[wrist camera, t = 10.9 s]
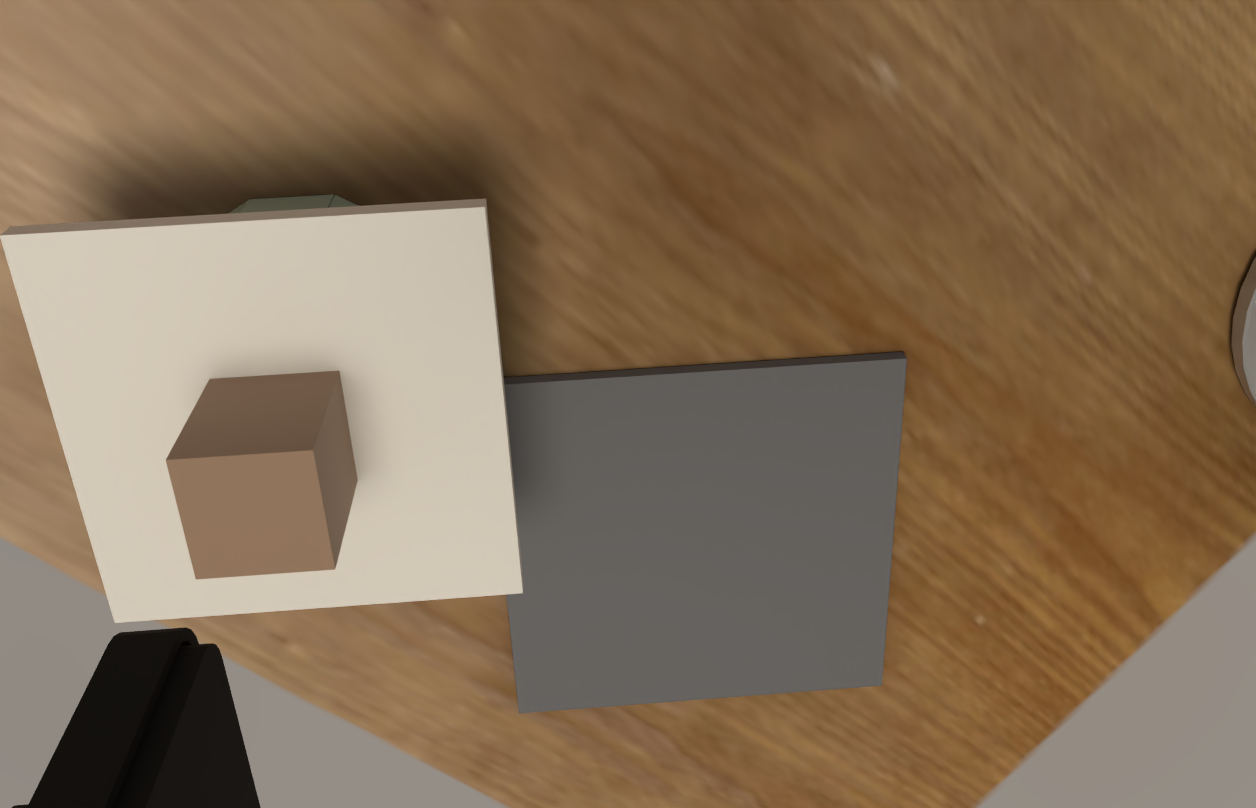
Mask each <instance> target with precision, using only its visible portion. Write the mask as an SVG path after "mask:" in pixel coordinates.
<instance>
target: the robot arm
mask: <svg viewBox="0 0 1256 808" xmlns="http://www.w3.org/2000/svg"><path fill="white" fill-rule="evenodd" d="M1231 346H1232V352H1233V358H1234V364H1235V371H1236V373H1237V375H1238V378H1239V380H1240V382H1241V385H1242V387H1243V389H1244V392H1245V394H1246V395H1247V396H1248V398H1249V399H1250V400H1251V401H1252V403H1253V404H1254V405H1255V407H1256V257H1255V259H1254V261H1253V263H1252V265H1251V267H1250V269H1249V272H1248V274H1247V276H1246V278H1245V280H1244V282H1243V285H1242V287H1241V289H1240V293H1239V297H1238V301H1237V305H1236V308H1235V312H1234V316H1233V327H1232V344H1231ZM12 808H260V804H259V800H258V796H257V792H256V789H255V785H254V781H253V777H252V773H251V769H250V765H249V761H248V757H247V753H246V749H245V745H244V741H243V737H242V734H241V730H240V726H239V722H238V718H237V714H236V710H235V706H234V702H233V698H232V694H231V690H230V686H229V682H228V679H227V675H226V671H225V667H224V663H223V659H222V656H221V653H220V650H219V648H218V647H217V645H215V644H212V643H211V644H199V643H198V640H197V638H196V636H195V634H194V633H193V631H192V630H191V629H188V628H174V629H161V630H149V631H134V632H121V633H119V634H117V635H115V636H114V637H113V639H112V640H111V641H110V643H109V644H108V646H107V648H106V650H105V652H104V654H103V656H102V658H101V660H100V662H99V664H98V666H97V668H96V670H95V672H94V674H93V676H92V678H91V680H90V682H89V684H88V686H87V688H86V690H85V692H84V694H83V696H82V698H81V700H80V702H79V704H78V706H77V708H76V710H75V712H74V714H73V716H72V718H71V720H70V722H69V724H68V726H67V728H66V730H65V732H64V735H63V736H62V738H61V740H60V742H59V744H58V746H57V748H56V750H55V752H54V754H53V756H52V758H51V760H50V763H49V764H48V767H47V768H46V771H45V773H44V774H43V777H42V779H41V781H40V783H39V785H38V787H37V789H36V791H35V793H34V795H33V797H32V799H31V801H30V803H29V805H18V806H13V807H12Z"/></svg>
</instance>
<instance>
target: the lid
mask: <svg viewBox="0 0 1256 808" xmlns="http://www.w3.org/2000/svg"><path fill="white" fill-rule="evenodd" d="M0 238H1V241H2V245H3V248H4V251H5V255H6V258H7V262H8V265H9V268H10V272H11V275H12V278H13V282H14V285H15V288H16V292H17V295H18V299H19V302H20V305H21V309H22V312H23V315H24V319H25V322H26V326H27V329H28V332H29V336H30V339H31V342H32V346H33V349H34V352H35V356H36V359H37V363H38V366H39V369H40V373H41V376H42V379H43V383H44V386H45V389H46V393H47V396H48V400H49V403H50V406H51V410H52V413H53V416H54V420H55V423H56V427H57V430H58V433H59V437H60V440H61V443H62V447H63V450H64V453H65V457H66V460H67V464H68V467H69V470H70V474H71V477H72V480H73V484H74V487H75V490H76V494H77V497H78V501H79V504H80V507H81V511H82V514H83V517H84V521H85V524H86V528H87V531H88V534H89V538H90V541H91V544H92V548H93V551H94V554H95V558H96V561H97V565H98V568H99V571H100V575H101V578H102V581H103V585H104V588H105V592H106V595H107V598H108V602H109V605H110V608H111V612H112V615H113V618H114V622H115V623H120V622H132V621H133V622H134V621H145V620H161V619H175V618H189V617H202V616H216V615H230V614H244V613H257V612H271V611H285V610H299V609H313V608H326V607H340V606H354V605H368V604H381V603H395V602H409V601H423V600H436V599H450V598H464V597H478V596H491V595H505V594H519V593H523V573H522V563H521V553H520V543H519V532H518V522H517V512H516V502H515V491H514V481H513V471H512V460H511V450H510V440H509V430H508V419H507V409H506V399H505V389H504V378H503V368H502V358H501V347H500V337H499V327H498V317H497V306H496V296H495V286H494V276H493V265H492V255H491V245H490V235H489V224H488V214H487V204H486V199H469V200H452V201H435V202H418V203H401V204H384V205H367V206H350V207H333V208H316V209H299V210H281V211H264V212H247V213H230V214H213V215H196V216H179V217H162V218H145V219H128V220H111V221H94V222H77V223H60V224H43V225H26V226H10V227H9V228H8V229H7V230H6V231H5V232H3V233H2V234H1V235H0Z"/></svg>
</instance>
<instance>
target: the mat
mask: <svg viewBox="0 0 1256 808" xmlns="http://www.w3.org/2000/svg"><path fill="white" fill-rule="evenodd" d="M906 364H907V358H906V356H905V355H904V353H903V352H893V353H877V354H862V355H846V356H831V357H815V358H800V359H785V360H769V361H754V362H738V363H723V364H707V365H692V366H676V367H661V368H646V369H630V370H615V371H599V372H584V373H568V374H553V375H538V376H522V377H507V378H504V389H505V399H506V409H507V419H508V430H509V440H510V450H511V460H512V471H513V481H514V491H515V502H516V512H517V522H518V532H519V543H520V553H521V563H522V573H523V593H519V594H507V604H508V613H509V622H510V632H511V641H512V651H513V660H514V670H515V679H516V689H517V698H518V708H519V713H529V712H542V711H555V710H568V709H581V708H594V707H607V706H621V705H634V704H647V703H660V702H673V701H686V700H699V699H712V698H725V697H738V696H751V695H764V694H777V693H790V692H803V691H816V690H829V689H842V688H855V687H868V686H881V685H882V676H883V663H884V650H885V637H886V624H887V611H888V598H889V585H890V572H891V559H892V546H893V533H894V520H895V507H896V494H897V481H898V468H899V455H900V442H901V429H902V416H903V403H904V390H905V377H906Z"/></svg>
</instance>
